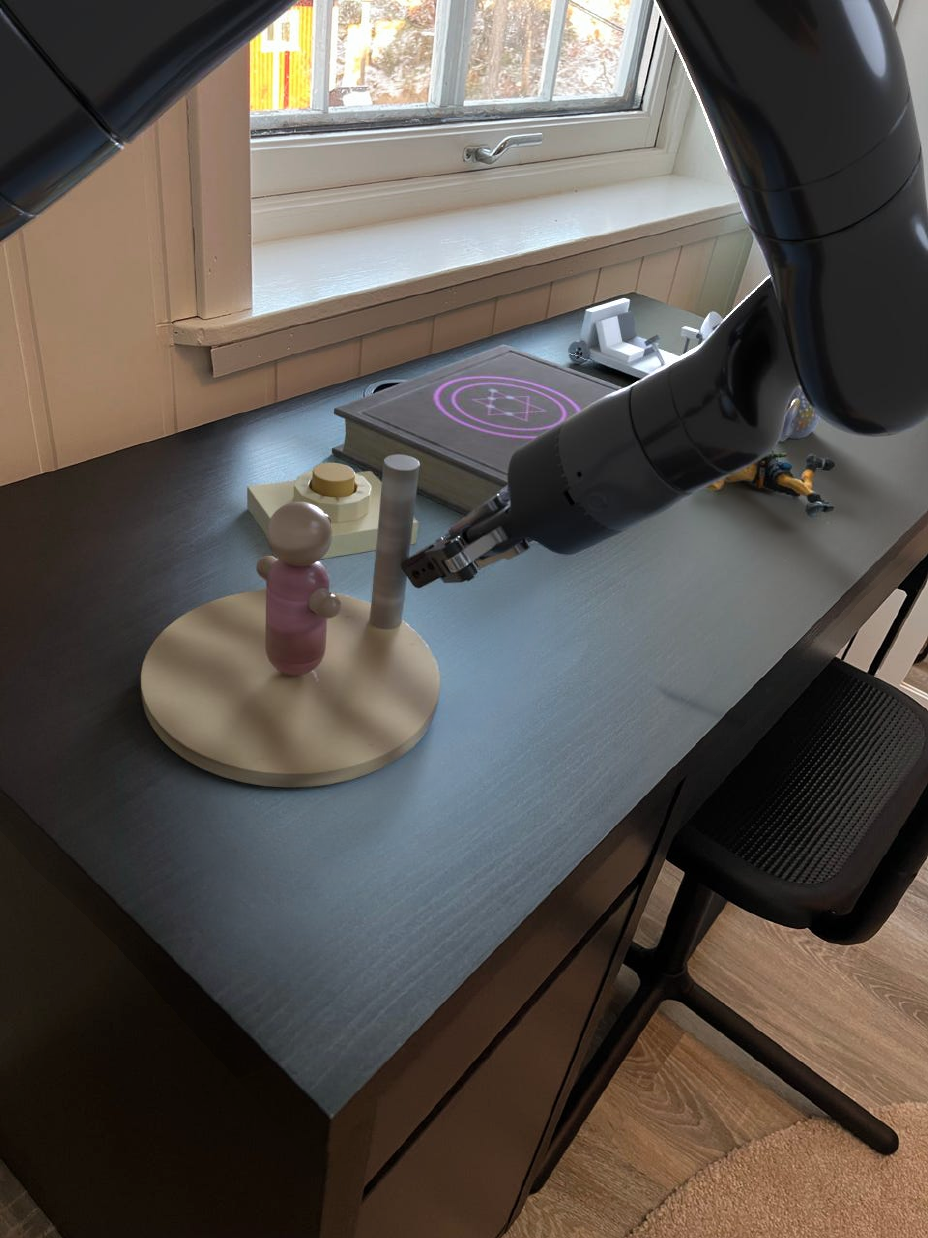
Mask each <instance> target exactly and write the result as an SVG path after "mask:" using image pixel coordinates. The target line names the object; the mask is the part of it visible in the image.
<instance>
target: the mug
mask: <svg viewBox="0 0 928 1238" xmlns="http://www.w3.org/2000/svg"><path fill="white" fill-rule="evenodd" d="M820 420H821V417H820V416H819V415H818V414H817V413H816V412H815V411H814V410H813V409H812V407H811V406H810V404H809V403H808V401H807V399H806V398H805V396H804V394H803V391H802V388H801V386H800V385H799V386H798V387H797V388H796V390H795V391H794V392H793V394H792V396H791V398H790V400H789V403H788V406H787V409H786V414H785V420H784V425H783V430H782V434H781V437H780V439H779V441H778V442H785V441H786V440H787V439H795V440H796V439H804V438H806V437H808V436H809V435H811V433H812V432H813V431H814V430H816V427H817V426H818V424H819V421H820Z"/></svg>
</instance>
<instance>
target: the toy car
mask: <svg viewBox="0 0 928 1238" xmlns="http://www.w3.org/2000/svg"><path fill="white" fill-rule="evenodd" d="M630 303H631V300H630V299H628V298H625V297H623V298H620V299H617V300H613V301H610V302H607V303H603V304H601V305H597V306H593V307H591V308H587V309H585V311H584V316H583V321H582V326H581V331H580V335H579V339H578V340H576V341H573V342H571V344H570V345H569V347H568V350H567V353H571V354H575V353H576V354H575V355H578V356H575V355H571V354H568V358H569V359H570V362H572V363H573V364H575V365H582V364H585V363H586V362H588V360H590V359H592V360H591V361H593V360H594V362H596V363H598V364H601V365H604V366H607V367H608V368H612V369H615V370H616V371H619V372H622V373H625V374H627V375H631V376H633V377H636V378H637V379H640V380H641V379H643V378H644V377H646V376H648V375H649V374H651V373H653V372H654V371H656V370H658V369H659V368H661V367H663V366H664V365H666V364H668V363H669V362H671V361H673V360H675V359H677V358H678V357H680V356H681V355H680V356H679V355H676V354H674V353H671V352H669V351H666V350H663V349H660V348H659V346H660V344H659V343H657V342H658V341H660V339H661V338H660V335H659V334H656V335H654V336H652V337H650V338H648V339H647V338H644V337H641V336H638V335H637V330H636V325H635V319H634V314H633V311H632V310H631V311H629V308H630ZM723 320H724V318H723V317H722V316H721V315H720V314H719V313H718V312H716V311H710V312H709V313H708V315H707V316H706V318H705V319H704V321H703V323H702V325H701V326H700V327H701V328H700V330H698V329H695V328H693V327H689V326H688V325H685V326H683V327H681V331H680V334H679V335H680V336H681V337H684V338H686V341H685V345H684V347H683V351H682V355H684V354H685V353H687V352H688V349H689V346H690V345H689V344H690V342H691V340H693V341H695V340H698V342H697V346H696V347H698V346H699V345H700V344H701V343H702V342H703V340H705V339H706V338H707V337H708V336H709V335H710V334H711V333H712V332H713V331H714V330H715V329H716V328H717V327H718V325H719V324H720V323H721V322H722V321H723ZM579 356H580V357H582V358H584V359H587V360H584V359H582V358H580V357H579ZM588 358H590V359H588Z"/></svg>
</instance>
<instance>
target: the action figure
mask: <svg viewBox="0 0 928 1238" xmlns="http://www.w3.org/2000/svg"><path fill="white" fill-rule="evenodd" d="M787 456H788V453H787V452H774V450H773V451H772V452H771V453H769V454H768V455H767V456H766V457H764V458H762V459H761V460H759V461H758V462H756V463H754V464H752V465H750V466H748V467H746V468H744V469H742V470H740V471H738V472H736V473H734V474H732V475H730V476H728V477H725V478H723V479H721V480H719V481H717V482H715V483H713V484H711V485H709V486H707V487H706V488H708V490H711V491H715V492H716V491H719V490H721V489H722V488H723V487H724V485H725V483H735V482H740V481H748V482H750V483H751V484H755V485H757V489H762V488H765V489H767V490H769V491H772V492H774V493H775V492H776V493H779V494H785V495H787V496H791V497H794V498H799V497H800V496H803V497H806V500H807V501H808V502H809V503H808V504H806V506H805V512H806V514H807V516H809V517H817V516H820V515H821V514H822V513H825V514H827V513H832V512H833V510H834V509H835V506H834V505H833V504H832V503H830V501H829V500H826V499H824V498H822V497H821V495H820V494H819V493H817V492H815V491H814V490H812V489H813V481H814V480H813V479H814V474H815V473H816V471H817V469H818V470H821V471H825V472H831V471H832V470H833V469H834V468H835V467H836V463H835V461H834V460H833V459H830V458H828V457H827V458H826V457H825V458H824V457H819V456H818V455H816V454H814V453H810V454H808V455H807V456H806V459H805V462H806V464H805V465H804V470H803V472H802V473H801V476H800V477H794V474H793V473H792V472H791V470H792V469H793V465H792V464H791V463H789V462H788V461H779V459H780V458H785V457H787ZM778 458H779V459H778Z"/></svg>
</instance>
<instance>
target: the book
mask: <svg viewBox="0 0 928 1238" xmlns="http://www.w3.org/2000/svg"><path fill="white" fill-rule="evenodd" d="M623 388H624V387H623V386H620V385H616V384H614V383H611V382H609V381H606V380H603V379H600V378H597V377H595V376H592V375H589V374H586V373H584V372H581V371H578V370H575V369H573V368H569V367H567V366H564V365H561V364H558V363H556V362H553V361H550V360H548V359H545V358H542V357H539V356H536V355H535V354H531V353H528V352H526V351H522V350H519V349H518V348H515V347H512V346H508V345H506V344H500V345H498V346H495V347H493V348H490V349H487V350H485V351H483V352H480V353H477V354H474V355H472V356H469V357H467V358H464V359H461V360H458V361H456V362H453V363H450V364H448V365H445V366H443V367H440V368H438V369H435V370H432V371H429V372H426V373H424V374H422V375H419V376H416V377H413V378H411V379H409V380H405V381H403V382H400V383H398V384H394V385H392V386H390V387H387V388H384V389H382V390H378V391H376V392H373V393H371V394H368V395H365V396H363V397H360V398H358V399H355V400H352V401H350V402H347V403H344V404H342V405H339V406H337V407H334V408H333V414H334V415H335V416H338V417H340V418H342V419H344V423H345V424H344V426H345V436H344V443H341V444H339V445H337V446H334V447H332V448H331V454H332V455H333V456H336V457H338V458H340V459H342V460H344V461H347V462H349V463H351V464H354V465H355V466H358V467H359V468H362V469H364V470H367V471H371V472H372V473H373V474H374V475H377V476H380V477H382V476H383V465H384V459H385V458H386V457H388V456H390V455H398V454H399V455H407V456H410V457H413V458H415V459H416V460H417V461H418V462H419V464H420V465H419V474H418V483H417V492H416V494H419V495H421V496H423V497H425V498H428V499H430V500H432V501H434V502H437V503H438V504H441V505H442V506H445V507H447V508H449V509H452V510H454V511H456V512H458V513H460V514H463V515H464V516H466V515H467V514H468V513H470V512H471V511H472V510H473V509H475V508H476V507H478V506H480V505H481V504H483V503H484V502H485V501H487V500H488V499H490V498H492V497H494V495H495V494H496V493H497V492H498V491H500V490H501V489H502V488H503V487H505V486H507V485H508V479H507V476H508V467H509V463H510V460H511V458H512V456H513V454H514V453H515V451H516V450H517V449H518V448H519V447H521V446H522V445H524V444H526V443H527V442H529V441H531V440H532V439H534V438H536V437H537V436H539V435H541V434H542V433H544V432H546V431H547V430H549V429H551V428H552V427H554V426H555V425H557V424H559V423H560V422H562V421H564V420H565V419H567V418H569V417H571V416H572V415H574V414H576V413H577V412H579V411H581V410H582V409H584V408H586V407H587V406H589V405H591V404H592V403H594V402H596V401H597V400H599V399H601V398H603V397H605V396H607V395H609V394H611V393H613V392H616V391H618V390H621V389H623Z"/></svg>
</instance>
